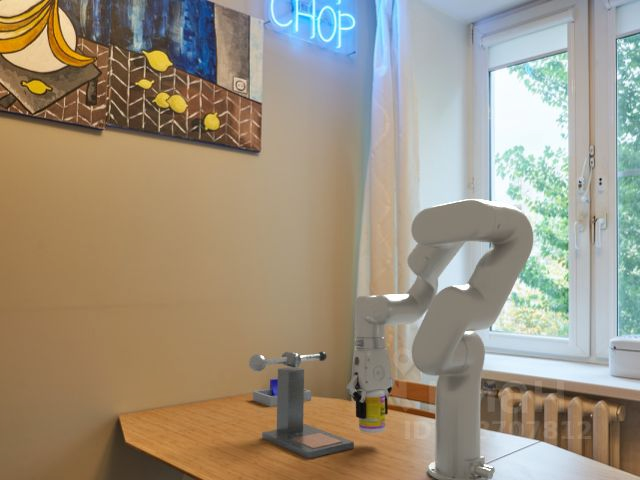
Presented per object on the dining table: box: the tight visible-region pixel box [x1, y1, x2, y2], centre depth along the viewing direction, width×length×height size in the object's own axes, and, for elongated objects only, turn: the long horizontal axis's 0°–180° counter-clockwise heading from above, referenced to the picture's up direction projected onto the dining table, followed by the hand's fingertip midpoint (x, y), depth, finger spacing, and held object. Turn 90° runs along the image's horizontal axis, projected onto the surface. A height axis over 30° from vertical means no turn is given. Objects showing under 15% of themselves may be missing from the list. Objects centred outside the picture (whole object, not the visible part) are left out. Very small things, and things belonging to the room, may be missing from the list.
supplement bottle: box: [358, 389, 386, 434], centre depth 143 cm, size 7×7×13 cm
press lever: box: [248, 351, 328, 373], centre depth 150 cm, size 4×24×4 cm, turn 128°
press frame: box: [261, 366, 355, 459], centre depth 144 cm, size 20×14×18 cm
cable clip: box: [269, 378, 278, 396], centre depth 191 cm, size 12×4×6 cm, turn 25°
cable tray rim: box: [252, 388, 312, 408], centre depth 191 cm, size 11×17×3 cm, turn 128°
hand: (371, 415), depth 143 cm, fingers closed on supplement bottle, 6 cm apart
